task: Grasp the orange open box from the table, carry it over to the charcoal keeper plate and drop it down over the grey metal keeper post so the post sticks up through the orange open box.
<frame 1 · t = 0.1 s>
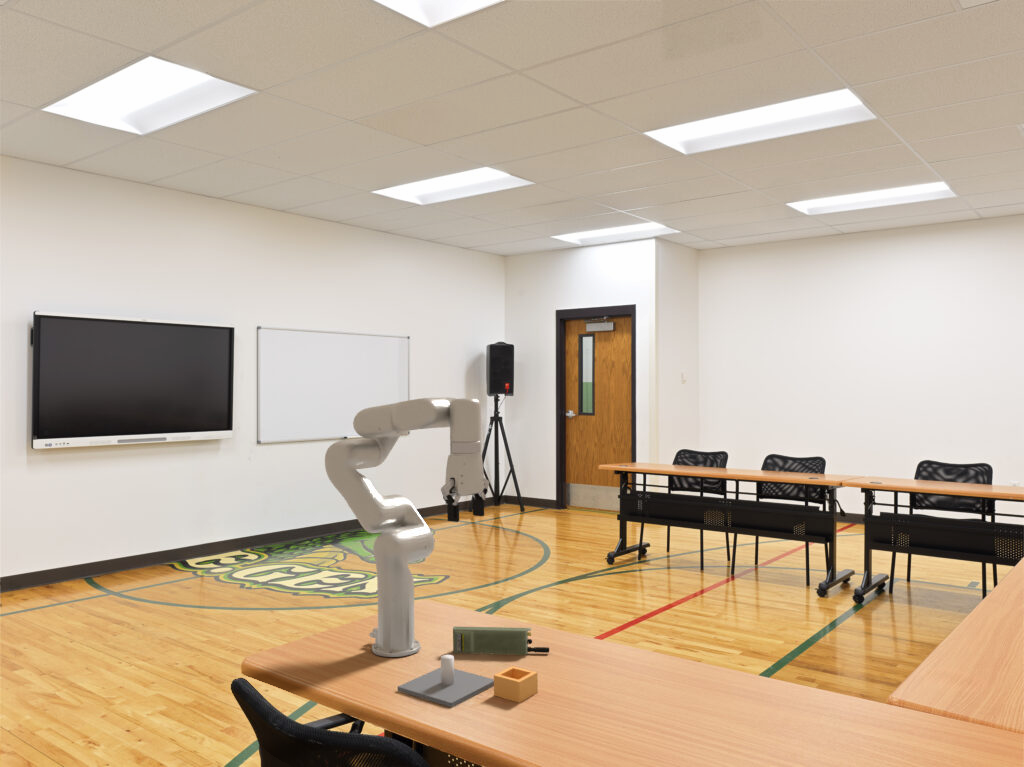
hand: (466, 518, 190), 37 cm above the table, tool pointing down, fingers open, 9 cm apart
orange open box: (515, 693, 174), on the table
keeper plate: (447, 687, 178), on the table
handheld radio: (501, 654, 201), on the table
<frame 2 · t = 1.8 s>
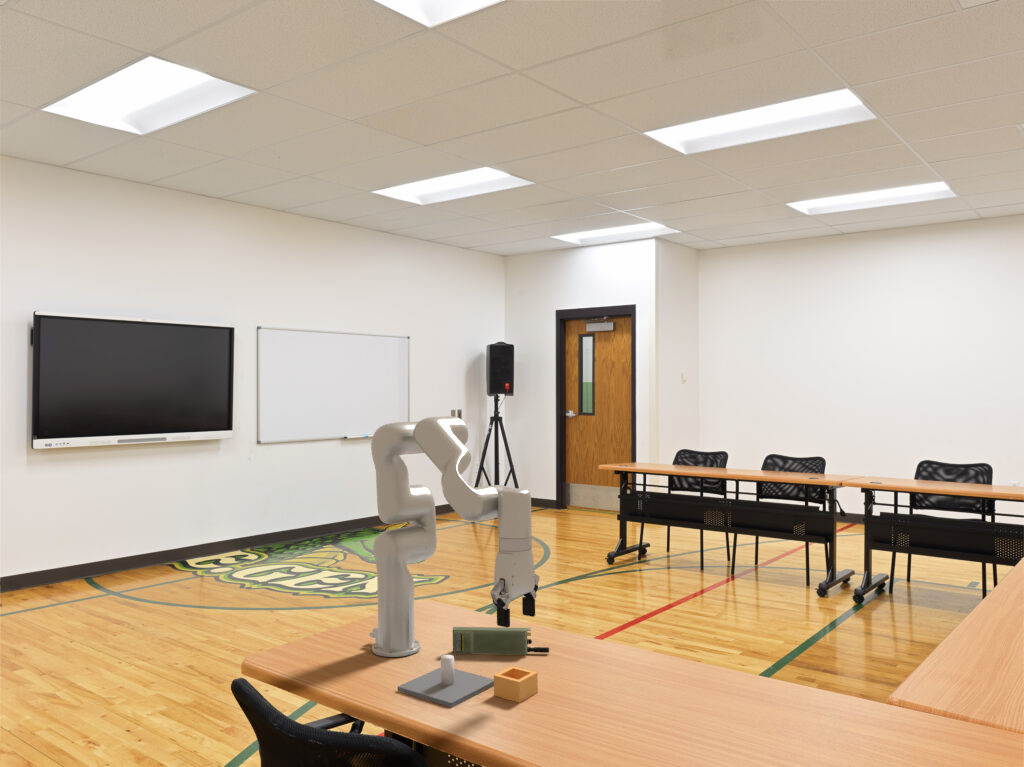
hand: (516, 620, 174), 16 cm above the table, tool pointing down, fingers open, 9 cm apart
nothing on the table moved.
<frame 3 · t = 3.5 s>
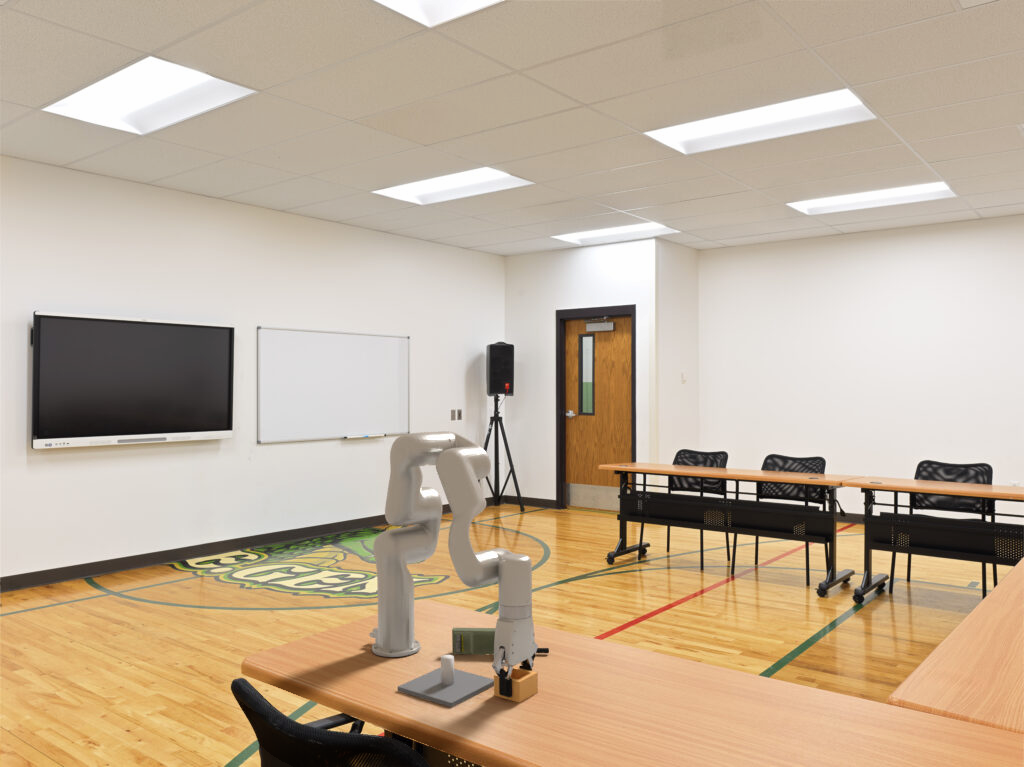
hand: (515, 689, 174), 1 cm above the table, tool pointing down, fingers closed on orange open box, 7 cm apart
orange open box: (515, 693, 174), on the table, touching gripper
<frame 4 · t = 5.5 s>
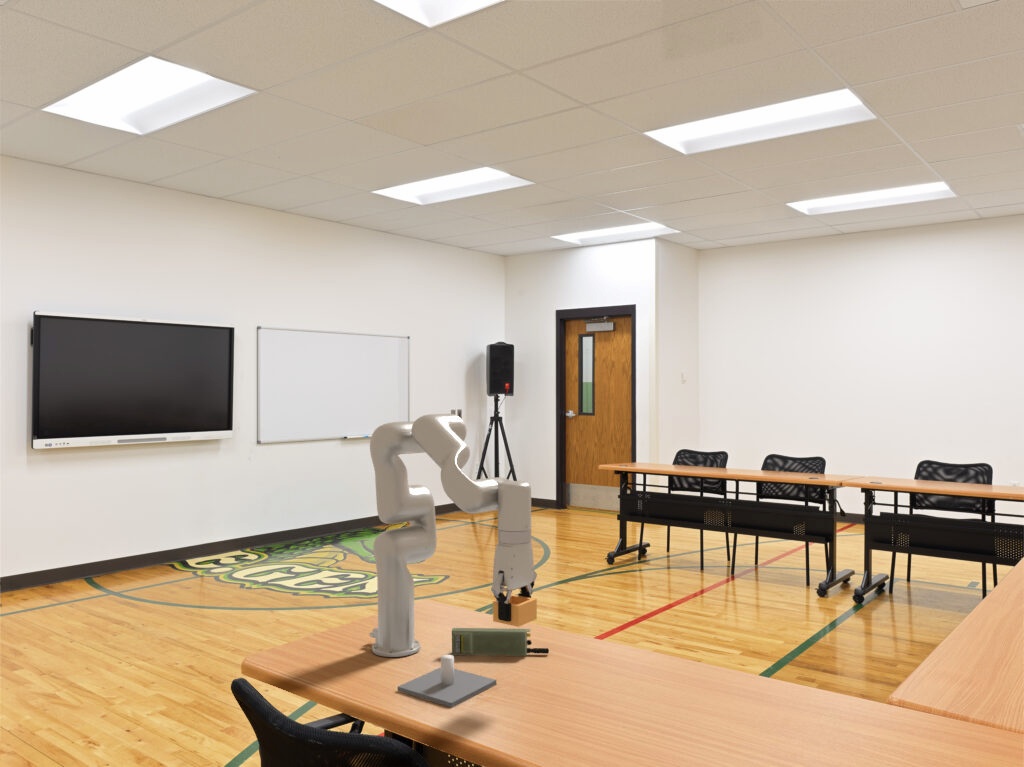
hand: (514, 615, 174), 18 cm above the table, tool pointing down, fingers closed on orange open box, 7 cm apart
orange open box: (514, 620, 174), point 17 cm above the table, touching gripper
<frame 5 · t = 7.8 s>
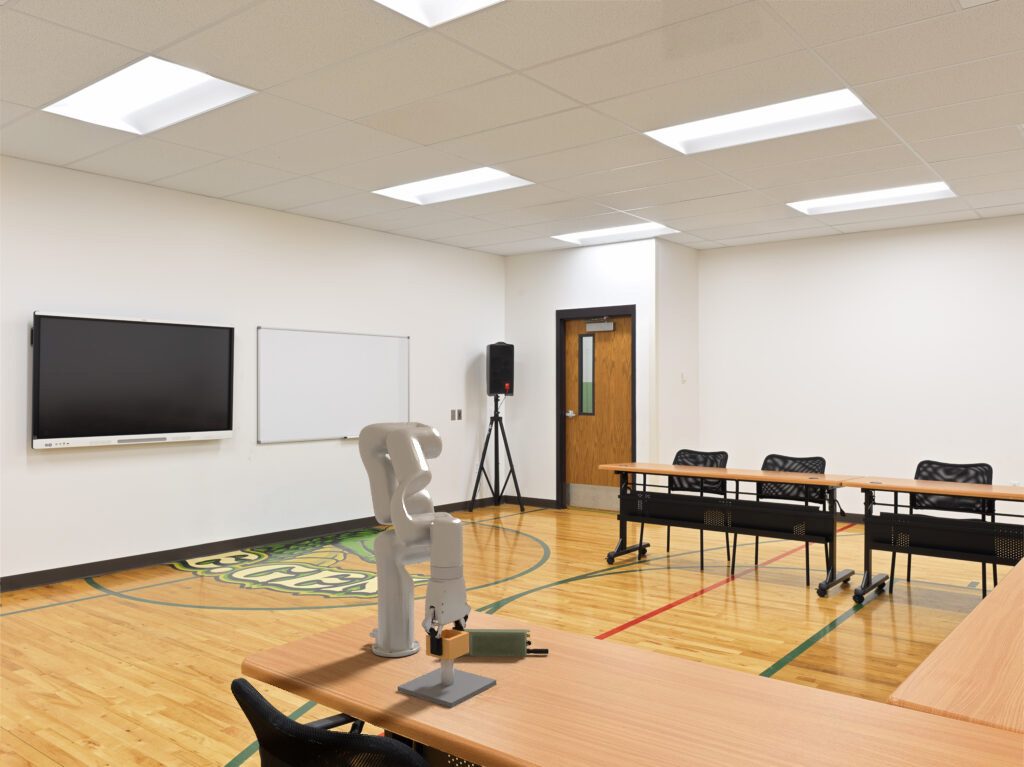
hand: (447, 649, 178), 9 cm above the table, tool pointing down, fingers closed on orange open box, 7 cm apart
orange open box: (447, 653, 178), point 8 cm above the table, touching gripper
when the fingers open (3 cm above the table, at t = 9.5 s): orange open box stays where it is, resting on keeper plate.
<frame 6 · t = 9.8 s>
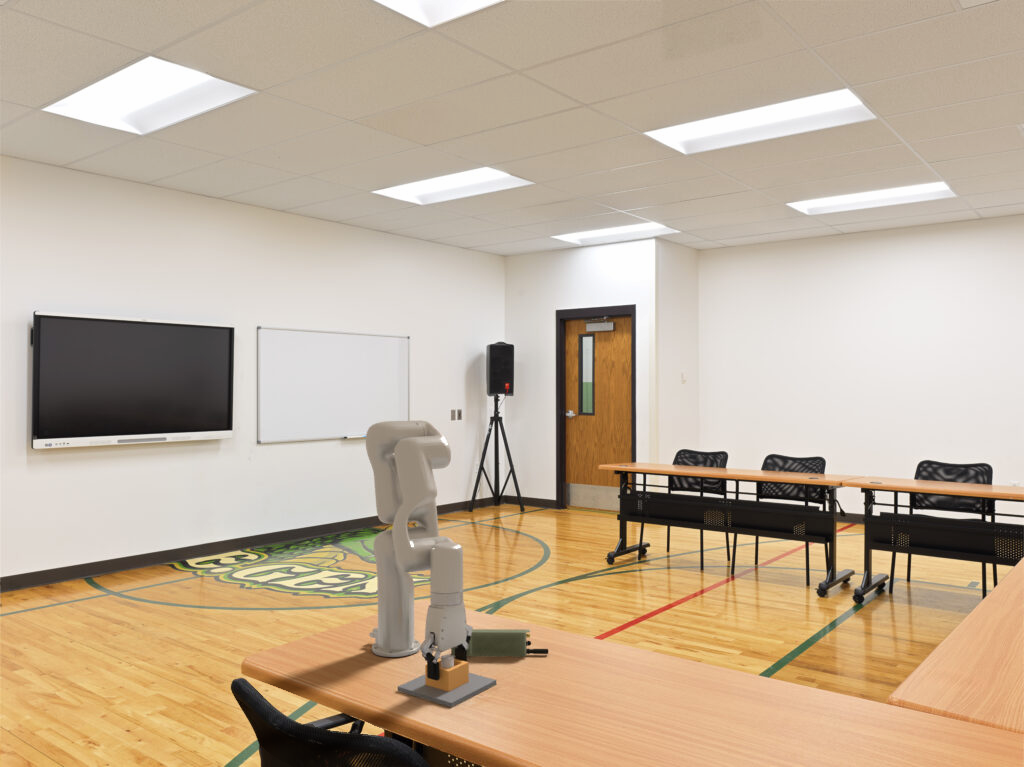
hand: (447, 672, 178), 3 cm above the table, tool pointing down, fingers open, 9 cm apart
orange open box: (447, 683, 178), point 1 cm above the table, touching keeper plate
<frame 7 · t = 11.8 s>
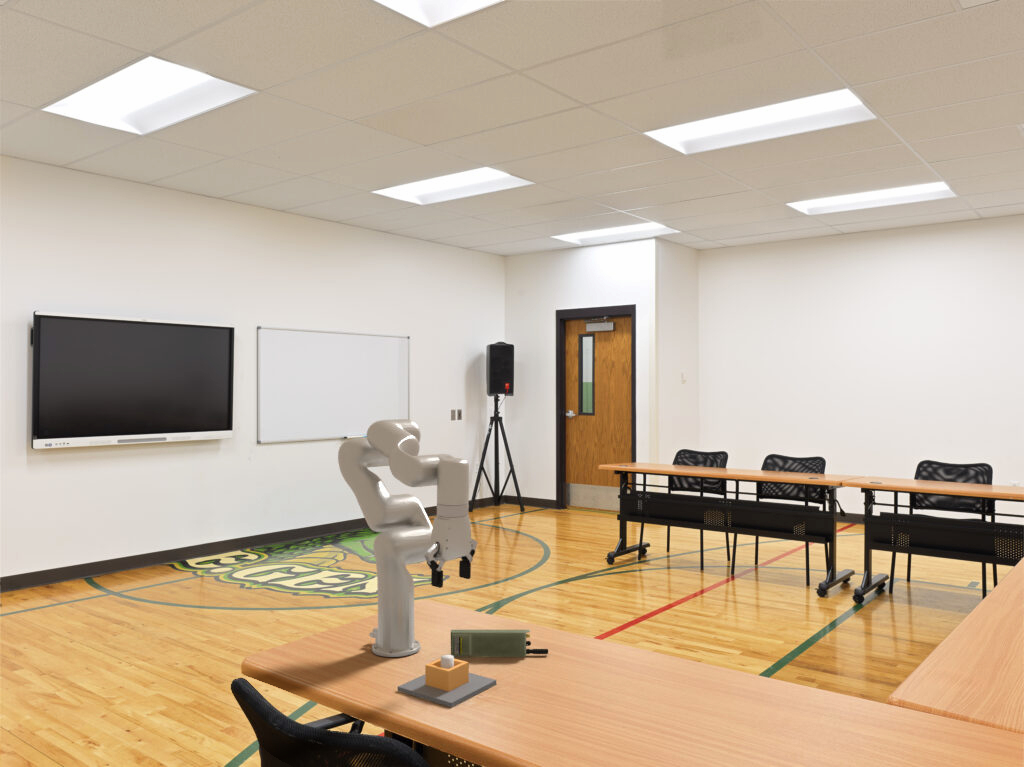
hand: (451, 582, 185), 22 cm above the table, tool pointing down, fingers open, 9 cm apart
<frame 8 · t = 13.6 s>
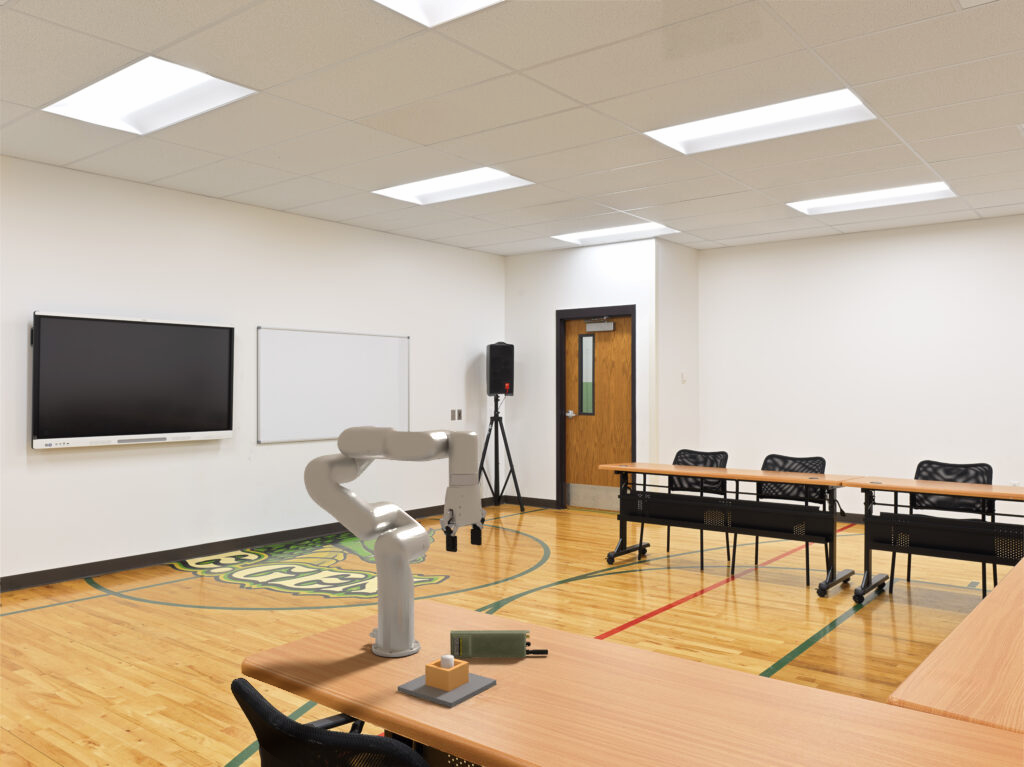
hand: (464, 548, 196), 28 cm above the table, tool pointing down, fingers open, 9 cm apart
at the end: orange open box 0.1 cm off-centre on the keeper plate, point 1.0 cm above the keeper plate's base; the gripper is holding nothing; orange open box tilted 0° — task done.
